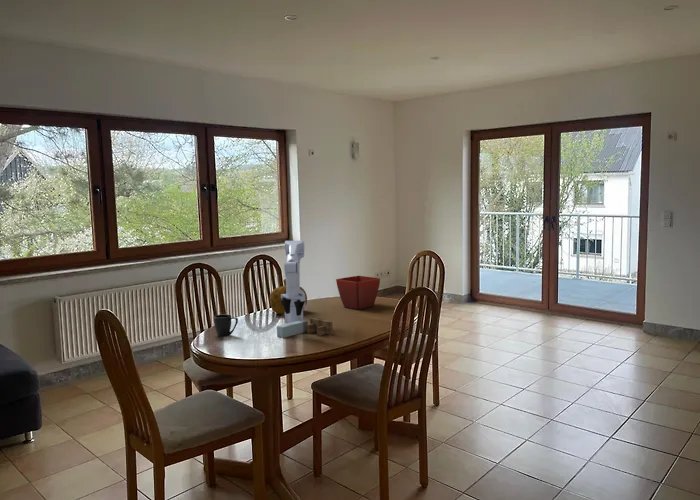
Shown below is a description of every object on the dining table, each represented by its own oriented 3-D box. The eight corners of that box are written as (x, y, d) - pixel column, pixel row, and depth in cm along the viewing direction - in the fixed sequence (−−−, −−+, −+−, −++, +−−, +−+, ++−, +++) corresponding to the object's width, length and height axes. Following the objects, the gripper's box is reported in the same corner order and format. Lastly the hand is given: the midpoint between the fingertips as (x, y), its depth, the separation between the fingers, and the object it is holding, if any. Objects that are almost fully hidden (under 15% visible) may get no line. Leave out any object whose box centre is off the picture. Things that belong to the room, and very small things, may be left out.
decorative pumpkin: (311, 313, 301) (306, 278, 299) (273, 319, 296) (268, 283, 294) (305, 307, 320) (301, 274, 319) (270, 313, 315) (265, 279, 314)
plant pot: (359, 302, 333) (358, 275, 332) (381, 306, 319) (381, 278, 318) (335, 307, 320) (335, 279, 319) (358, 311, 306) (357, 282, 305)
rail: (282, 337, 255) (282, 327, 254) (277, 336, 258) (276, 326, 257) (307, 330, 266) (307, 321, 266) (302, 329, 269) (302, 319, 269)
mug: (233, 338, 256) (232, 318, 255) (211, 337, 260) (210, 317, 259) (242, 334, 264) (241, 314, 263) (220, 332, 268) (219, 313, 267)
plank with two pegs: (303, 332, 264) (302, 320, 264) (312, 329, 269) (312, 317, 268) (323, 336, 255) (322, 324, 254) (332, 334, 259) (332, 321, 259)
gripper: (275, 286, 261) (276, 314, 262) (296, 289, 252) (297, 317, 253) (286, 284, 266) (287, 311, 268) (307, 287, 257) (308, 315, 258)
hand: (293, 314), depth 261 cm, fingers open, 7 cm apart
